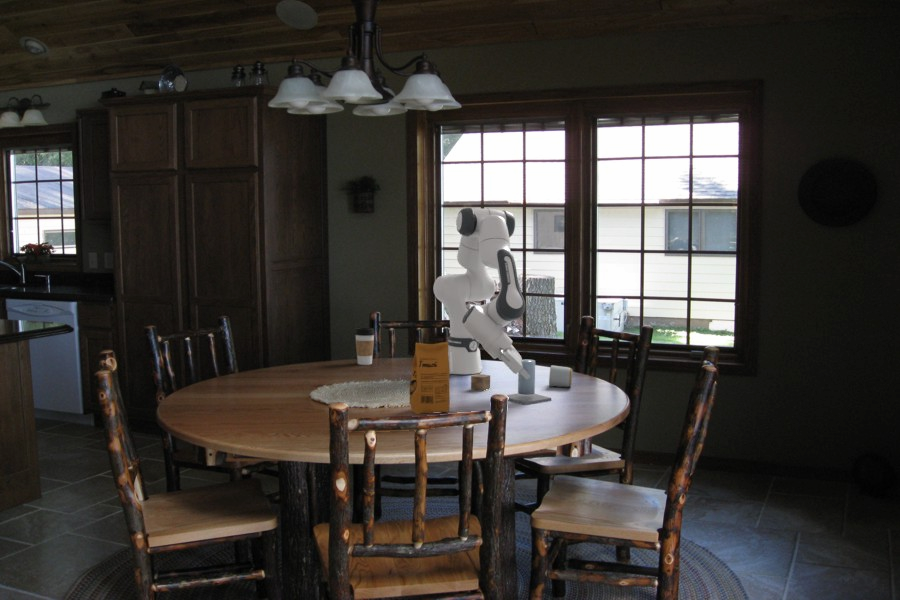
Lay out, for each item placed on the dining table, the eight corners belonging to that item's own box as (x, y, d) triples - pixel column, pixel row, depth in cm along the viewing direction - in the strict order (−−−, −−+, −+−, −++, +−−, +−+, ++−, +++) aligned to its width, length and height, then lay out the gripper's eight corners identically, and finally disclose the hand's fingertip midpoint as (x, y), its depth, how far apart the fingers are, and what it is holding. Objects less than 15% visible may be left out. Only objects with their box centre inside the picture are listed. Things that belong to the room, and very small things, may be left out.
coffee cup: (353, 365, 349) (353, 329, 347) (356, 361, 357) (356, 326, 356) (373, 365, 348) (373, 329, 347) (376, 362, 357) (376, 326, 355)
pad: (501, 398, 288) (501, 396, 288) (527, 394, 295) (527, 391, 295) (525, 404, 279) (525, 402, 279) (551, 400, 286) (551, 397, 286)
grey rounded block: (571, 389, 305) (572, 368, 304) (548, 388, 307) (549, 367, 306) (572, 384, 315) (573, 363, 315) (550, 383, 317) (551, 362, 316)
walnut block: (470, 389, 303) (471, 375, 302) (478, 387, 307) (478, 373, 306) (482, 391, 300) (483, 377, 299) (490, 389, 304) (490, 375, 304)
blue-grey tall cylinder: (514, 392, 287) (515, 360, 286) (526, 390, 291) (527, 358, 290) (525, 395, 283) (526, 362, 282) (537, 393, 286) (538, 361, 285)
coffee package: (408, 408, 272) (408, 340, 270) (445, 406, 275) (446, 339, 272) (412, 415, 263) (412, 345, 260) (451, 413, 265) (452, 344, 263)
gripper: (506, 344, 275) (536, 375, 276) (506, 335, 296) (534, 364, 296) (493, 358, 276) (522, 388, 276) (493, 348, 296) (521, 376, 297)
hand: (528, 375), depth 286 cm, fingers closed on blue-grey tall cylinder, 5 cm apart
